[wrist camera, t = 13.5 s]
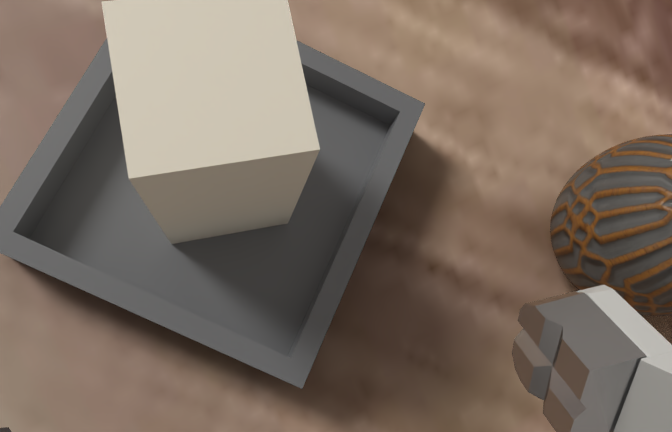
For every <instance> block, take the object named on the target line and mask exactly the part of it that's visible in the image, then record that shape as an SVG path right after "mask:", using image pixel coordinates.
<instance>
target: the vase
mask: <svg viewBox="0 0 672 432" xmlns="http://www.w3.org/2000/svg"><path fill="white" fill-rule="evenodd" d="M550 233H551V242H552V247H553V250H554V253H555V256H556V259H557V261H558V263H559V265H560V267H561V269H562V270H563V272H564V273H565V275H566V276H567V277H568V279H569V280H570V281H571V282H572V283H573V284H574V285H575V286H576V287H577V288H578V289H579V290H583V289H588V288H592V287H596V286H600V285H606V286H608V287H610V288H612V289H613V290H615V291H616V292H617V293H618V294H619V295H620V296H621V297H622V298H623V299H624V300H625V301H626V302H627V303H628V304H629V305H630V306H631V307H632V308H634V309H635V310H636V311H637V312H638V313H639V314H640V315H651V316H665V315H672V134H667V135H655V136H648V137H642V138H637V139H634V140H630V141H627V142H624V143H621V144H619V145H616V146H614V147H612V148H610V149H608V150H606V151H604V152H602V153H601V154H599V155H597V156H596V157H594V158H593V159H591V160H590V161H588V162H587V163H586V164H584V165H583V166H582V167H581V168H580V169H579V170H578V171H577V172H576V173H575V174H574V175H573V176H572V177H571V178H570V179H569V181H568V182H567V183H566V185H565V186H564V188H563V189H562V191H561V192H560V194H559V196H558V198H557V201H556V203H555V206H554V209H553V212H552V217H551V225H550Z"/></svg>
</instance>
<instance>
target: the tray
mask: <svg viewBox="0 0 672 432" xmlns="http://www.w3.org/2000/svg"><path fill="white" fill-rule="evenodd" d="M296 41H297V40H296ZM297 45H298V50H299V55H300V59H301V64H302V68H303V73H304V78H305V82H306V87H307V91H308V96H309V101H310V105H311V110H312V115H313V119H314V124H315V128H316V133H317V138H318V142H319V147H320V151H319V153H318V155H317V158H316V160H315V162H314V165H313V167H312V169H311V171H310V174H309V176H308V178H307V181H306V183H305V185H304V188H303V190H302V192H301V195H300V197H299V199H298V201H297V204H296V206H295V208H294V211H293V213H292V215H291V218H290V220H289V222H288V224H282V225H276V226H271V227H265V228H260V229H254V230H248V231H243V232H237V233H231V234H226V235H220V236H215V237H209V238H203V239H198V240H192V241H186V242H181V243H175V244H171V243H170V241H169V240H168V238H167V237H166V235H165V233H164V232H163V230H162V229H161V227H160V226H159V224H158V223H157V221H156V220H155V218H154V217H153V215H152V214H151V212H150V211H149V209H148V208H147V206H146V204H145V203H144V201H143V200H142V198H141V197H140V195H139V194H138V192H137V191H136V189H135V188H134V186H133V185H132V183H131V182H130V180H129V178H128V171H127V165H126V158H125V152H124V145H123V139H122V132H121V126H120V119H119V112H118V106H117V99H116V93H115V86H114V80H113V73H112V67H111V60H110V54H109V47H108V41H107V39H106V40H105V42H104V43H103V45H102V46H101V48H100V50H99V51H98V53H97V54H96V56H95V58H94V59H93V61H92V62H91V64H90V65H89V67H88V69H87V70H86V72H85V73H84V75H83V77H82V78H81V80H80V81H79V83H78V84H77V86H76V88H75V89H74V91H73V92H72V94H71V96H70V97H69V99H68V100H67V102H66V103H65V105H64V107H63V108H62V110H61V111H60V113H59V115H58V116H57V118H56V119H55V121H54V122H53V124H52V126H51V127H50V129H49V130H48V132H47V134H46V135H45V137H44V138H43V140H42V141H41V143H40V145H39V146H38V148H37V149H36V151H35V153H34V154H33V156H32V157H31V159H30V160H29V162H28V164H27V165H26V167H25V168H24V170H23V172H22V173H21V175H20V176H19V178H18V179H17V181H16V183H15V184H14V186H13V187H12V189H11V191H10V192H9V194H8V195H7V197H6V198H5V200H4V202H3V203H2V205H1V206H0V253H1V254H4V255H6V256H8V257H10V258H13V259H15V260H17V261H19V262H21V263H24V264H26V265H28V266H30V267H33V268H35V269H37V270H39V271H41V272H44V273H46V274H48V275H50V276H53V277H55V278H57V279H59V280H61V281H64V282H66V283H68V284H70V285H72V286H75V287H77V288H79V289H81V290H84V291H86V292H88V293H90V294H92V295H95V296H97V297H99V298H101V299H104V300H106V301H108V302H110V303H112V304H115V305H117V306H119V307H121V308H124V309H126V310H128V311H130V312H132V313H135V314H137V315H139V316H141V317H144V318H146V319H148V320H150V321H152V322H155V323H157V324H159V325H161V326H163V327H166V328H168V329H170V330H172V331H175V332H177V333H179V334H181V335H183V336H186V337H188V338H190V339H192V340H195V341H197V342H199V343H201V344H203V345H206V346H208V347H210V348H212V349H215V350H217V351H219V352H221V353H223V354H226V355H228V356H230V357H232V358H235V359H237V360H239V361H241V362H243V363H246V364H248V365H250V366H252V367H254V368H257V369H259V370H261V371H263V372H266V373H268V374H270V375H272V376H274V377H277V378H279V379H281V380H283V381H286V382H288V383H290V384H292V385H294V386H297V387H299V388H301V389H302V388H303V386H304V384H305V381H306V379H307V377H308V374H309V372H310V370H311V367H312V365H313V363H314V360H315V358H316V356H317V353H318V351H319V349H320V346H321V344H322V342H323V340H324V337H325V335H326V333H327V330H328V328H329V326H330V323H331V321H332V319H333V316H334V314H335V312H336V309H337V307H338V305H339V302H340V300H341V298H342V295H343V293H344V291H345V288H346V286H347V284H348V282H349V279H350V277H351V275H352V272H353V270H354V268H355V265H356V263H357V261H358V258H359V256H360V254H361V251H362V249H363V247H364V244H365V242H366V240H367V237H368V235H369V233H370V231H371V228H372V226H373V224H374V221H375V219H376V217H377V214H378V212H379V210H380V207H381V205H382V203H383V200H384V198H385V196H386V193H387V191H388V189H389V186H390V184H391V182H392V179H393V177H394V175H395V173H396V170H397V168H398V166H399V163H400V161H401V159H402V156H403V154H404V152H405V149H406V147H407V145H408V142H409V140H410V138H411V135H412V133H413V131H414V128H415V126H416V124H417V121H418V119H419V117H420V115H421V112H422V110H423V108H424V105H425V103H423V102H421V101H419V100H417V99H414V98H412V97H410V96H408V95H406V94H404V93H402V92H400V91H398V90H396V89H394V88H392V87H390V86H388V85H386V84H384V83H382V82H380V81H378V80H376V79H374V78H372V77H370V76H368V75H366V74H364V73H362V72H360V71H358V70H356V69H354V68H352V67H349V66H347V65H345V64H343V63H341V62H339V61H337V60H335V59H333V58H331V57H329V56H327V55H325V54H323V53H321V52H319V51H317V50H315V49H313V48H311V47H309V46H307V45H305V44H303V43H301V42H299V41H297Z"/></svg>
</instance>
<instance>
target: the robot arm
mask: <svg viewBox="0 0 672 432" xmlns="http://www.w3.org/2000/svg"><path fill="white" fill-rule="evenodd" d="M518 322H519V323H520V324H521V326H522V327H523V329H522V331H521V332H520V333H519V334H518V335H517V336H516V338H515V339H514V343H513V350H512V356H513V361H514V366H515V370H516V372H517V374H518V376H519V379H520V381H521V382H522V384H523V385H524V387H525V388H526V390H527V391H528V392H529V393H531V394H533V395H535V396H537V397H538V398H540V399H542V400H544V402H543V414H544V415H545V417H546V418H547V420H548V421H549V422H550V424H551V425H552V427H553V428H554V430H555V431H556V432H672V345H671V344H670V343H669V342H668V341H667V340H666V339H665V338H664V337H663V336H662V335H661V334H660V333H659V332H658V331H657V330H656V329H655V328H654V327H653V326H651V325H650V324H649V323H648V322H647V321H646V320H645V319H644V318H643V317H642V316H641V315H640V314H639V313H638V312H637V311H636V310H635V309H634V308H632V307H631V306H630V305H629V304H628V303H627V302H626V301H625V300H624V299H623V298H622V297H621V296H620V295H619V294H618V293H617V292H616V291H615V290H613V289H612V288H610V287H608V286H606V285H600V286H596V287H592V288H588V289H583V290H579V291H577V292H570V293H566V294H562V295H558V296H554V297H550V298H546V299H542V300H538V301H534V302H530V303H525V304H524V305H523V307H522V308H521V309H520V312H519V317H518ZM0 432H11V430H10V429H9V427H8V428H0Z"/></svg>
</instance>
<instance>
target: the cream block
mask: <svg viewBox="0 0 672 432" xmlns="http://www.w3.org/2000/svg"><path fill="white" fill-rule="evenodd" d="M102 8H103V14H104V21H105V28H106V34H107V41H108V47H109V54H110V60H111V67H112V73H113V80H114V86H115V93H116V99H117V106H118V112H119V119H120V126H121V132H122V139H123V145H124V152H125V158H126V165H127V171H128V178H129V180H130V182H131V183H132V185H133V186H134V188H135V189H136V191H137V192H138V194H139V195H140V197H141V198H142V200H143V201H144V203H145V204H146V206H147V208H148V209H149V211H150V212H151V214H152V215H153V217H154V218H155V220H156V221H157V223H158V224H159V226H160V227H161V229H162V230H163V232H164V233H165V235H166V237H167V238H168V240H169V241H170V243H171V244H175V243H181V242H186V241H192V240H198V239H203V238H209V237H215V236H220V235H226V234H231V233H237V232H243V231H248V230H254V229H260V228H265V227H271V226H276V225H282V224H288V222H289V220H290V218H291V215H292V213H293V211H294V208H295V206H296V204H297V201H298V199H299V197H300V195H301V192H302V190H303V188H304V185H305V183H306V181H307V178H308V176H309V174H310V171H311V169H312V167H313V165H314V162H315V160H316V158H317V155H318V153H319V151H320V147H319V142H318V138H317V133H316V128H315V124H314V119H313V115H312V110H311V105H310V101H309V96H308V91H307V87H306V82H305V78H304V73H303V68H302V64H301V59H300V55H299V50H298V45H297V41H296V36H295V32H294V27H293V22H292V18H291V13H290V9H289V4H288V0H114V1H103V2H102Z"/></svg>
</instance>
